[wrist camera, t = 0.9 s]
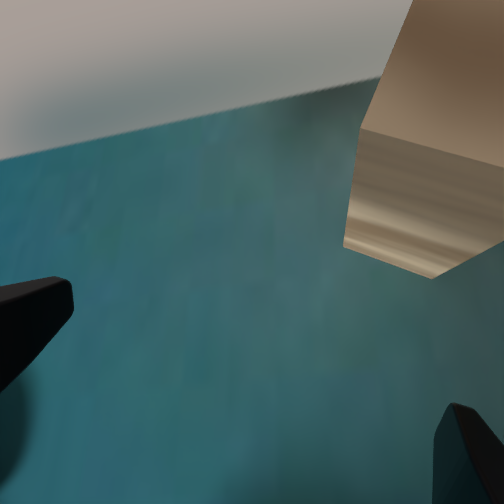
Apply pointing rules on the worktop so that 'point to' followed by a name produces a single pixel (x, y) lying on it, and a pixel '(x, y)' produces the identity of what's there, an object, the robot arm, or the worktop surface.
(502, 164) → the maple block
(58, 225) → the worktop surface
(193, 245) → the worktop surface
